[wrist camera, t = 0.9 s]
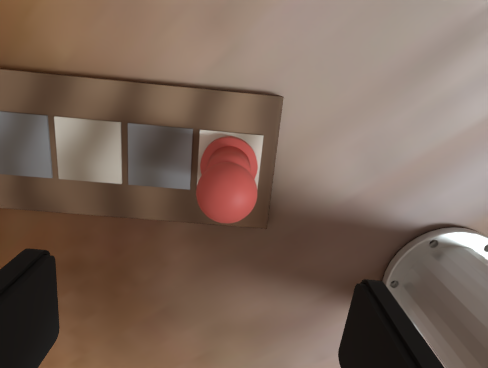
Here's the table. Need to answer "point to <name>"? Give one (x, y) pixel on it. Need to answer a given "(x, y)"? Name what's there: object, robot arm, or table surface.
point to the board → (124, 145)
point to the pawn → (227, 180)
